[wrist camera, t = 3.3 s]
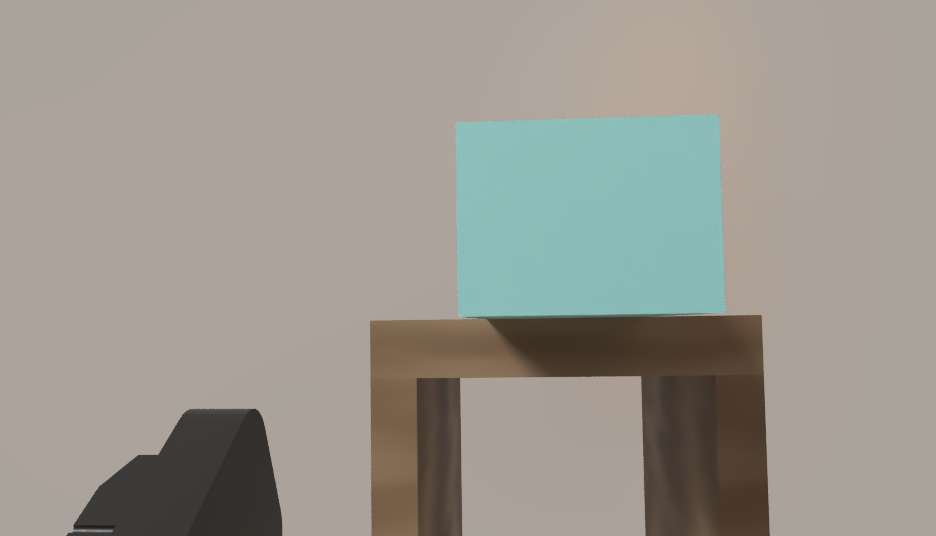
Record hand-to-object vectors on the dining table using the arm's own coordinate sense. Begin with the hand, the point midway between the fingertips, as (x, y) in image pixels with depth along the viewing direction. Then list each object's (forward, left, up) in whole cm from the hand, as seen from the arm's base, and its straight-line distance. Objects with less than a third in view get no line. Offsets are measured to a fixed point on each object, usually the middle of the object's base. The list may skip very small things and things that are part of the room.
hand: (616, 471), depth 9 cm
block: (-5, +13, +2) cm, 14 cm away
